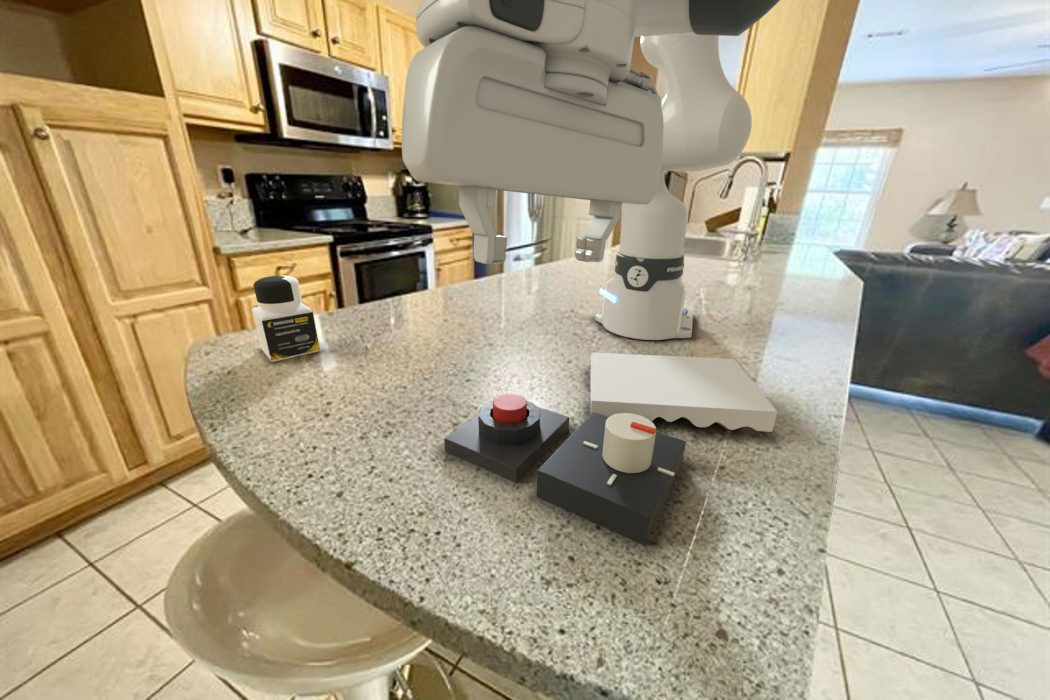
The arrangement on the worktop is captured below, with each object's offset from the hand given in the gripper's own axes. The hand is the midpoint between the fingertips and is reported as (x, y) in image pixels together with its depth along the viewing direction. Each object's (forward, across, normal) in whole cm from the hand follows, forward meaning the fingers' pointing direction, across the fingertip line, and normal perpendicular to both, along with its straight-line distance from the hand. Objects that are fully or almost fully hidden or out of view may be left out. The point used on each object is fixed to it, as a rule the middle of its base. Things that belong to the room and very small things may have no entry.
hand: (543, 262), depth 31 cm
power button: (+18, -4, -8) cm, 20 cm away
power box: (+21, -4, -8) cm, 23 cm away
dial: (+17, -9, +4) cm, 20 cm away
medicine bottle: (+21, +10, -50) cm, 55 cm away
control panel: (+20, -9, +3) cm, 22 cm away
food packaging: (+19, -26, -4) cm, 33 cm away
